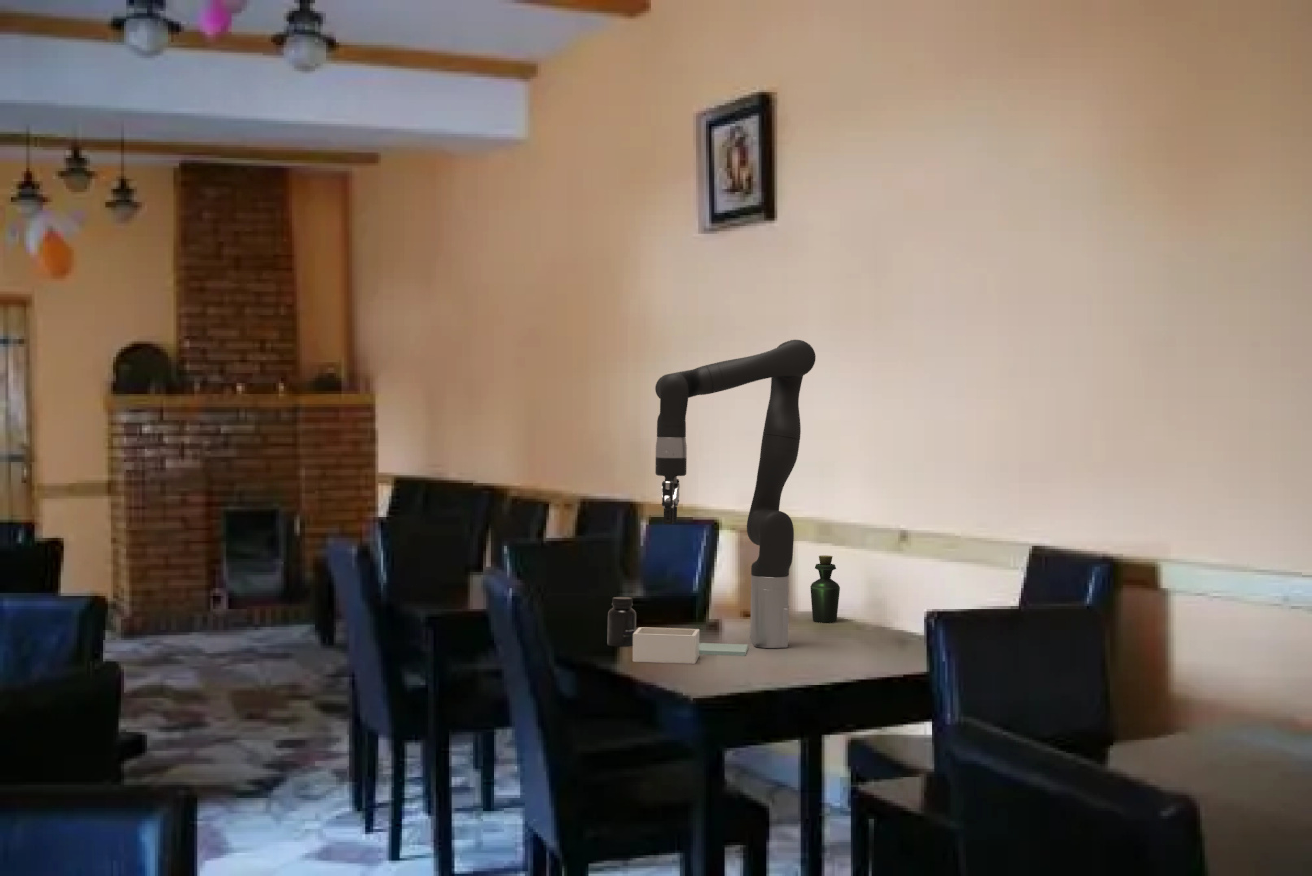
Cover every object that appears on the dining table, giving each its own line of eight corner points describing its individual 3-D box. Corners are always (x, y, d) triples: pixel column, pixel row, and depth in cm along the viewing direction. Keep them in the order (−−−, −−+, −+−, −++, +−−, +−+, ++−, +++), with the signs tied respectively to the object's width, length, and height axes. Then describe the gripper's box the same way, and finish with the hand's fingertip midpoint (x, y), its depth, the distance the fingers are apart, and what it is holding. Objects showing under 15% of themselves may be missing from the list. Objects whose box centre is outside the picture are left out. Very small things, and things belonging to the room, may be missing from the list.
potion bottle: (826, 618, 387) (827, 554, 387) (845, 622, 380) (846, 556, 380) (803, 620, 382) (804, 555, 382) (822, 624, 376) (823, 558, 375)
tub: (699, 659, 318) (699, 629, 318) (694, 667, 308) (695, 635, 308) (638, 657, 320) (639, 627, 320) (632, 664, 310) (632, 633, 310)
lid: (748, 652, 330) (748, 641, 330) (745, 660, 319) (745, 648, 319) (667, 649, 332) (667, 638, 332) (661, 657, 322) (661, 645, 322)
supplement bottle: (632, 650, 329) (632, 600, 329) (604, 649, 331) (604, 599, 330) (638, 645, 336) (638, 596, 336) (611, 644, 337) (611, 595, 337)
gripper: (683, 457, 328) (682, 525, 328) (689, 455, 342) (688, 521, 342) (652, 456, 329) (651, 524, 329) (659, 455, 343) (658, 520, 343)
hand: (670, 522), depth 335 cm, fingers open, 8 cm apart
